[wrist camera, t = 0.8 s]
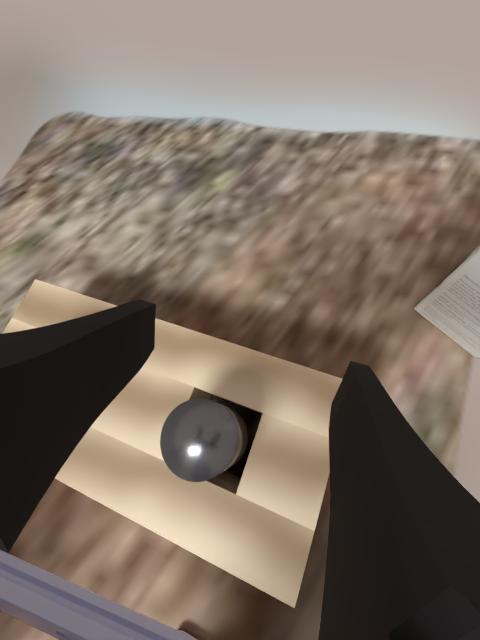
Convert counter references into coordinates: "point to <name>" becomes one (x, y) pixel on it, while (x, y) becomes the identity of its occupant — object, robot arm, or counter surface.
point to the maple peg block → (224, 489)
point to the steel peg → (202, 439)
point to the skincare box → (457, 305)
